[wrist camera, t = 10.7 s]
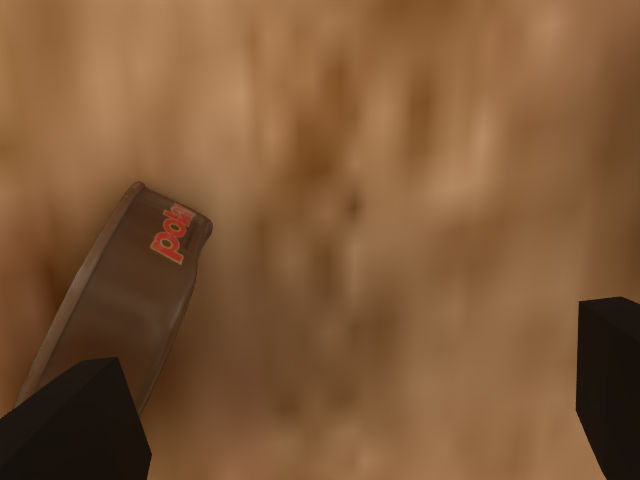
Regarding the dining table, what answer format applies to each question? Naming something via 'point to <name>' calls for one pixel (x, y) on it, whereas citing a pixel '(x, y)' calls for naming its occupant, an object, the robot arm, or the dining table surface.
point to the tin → (127, 294)
